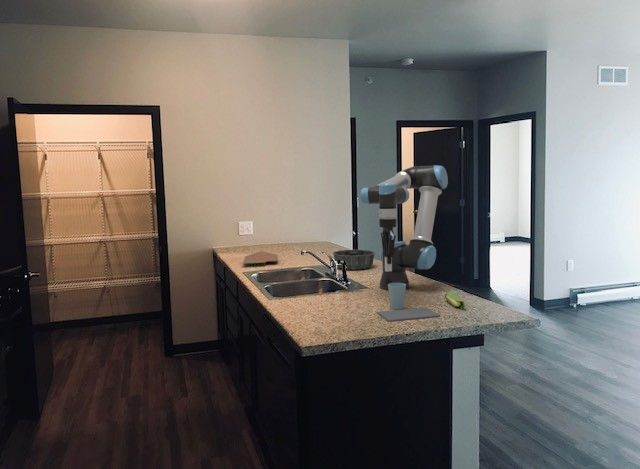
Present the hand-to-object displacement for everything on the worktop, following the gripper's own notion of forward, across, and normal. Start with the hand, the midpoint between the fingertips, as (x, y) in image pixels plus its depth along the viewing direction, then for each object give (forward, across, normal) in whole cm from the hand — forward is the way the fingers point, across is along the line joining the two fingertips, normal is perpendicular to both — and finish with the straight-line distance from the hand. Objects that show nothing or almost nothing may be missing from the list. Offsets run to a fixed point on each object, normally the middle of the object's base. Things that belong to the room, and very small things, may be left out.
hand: (388, 271), depth 239 cm
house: (+15, -138, -42) cm, 145 cm away
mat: (+15, +22, 0) cm, 26 cm away
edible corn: (+15, +13, +26) cm, 32 cm away
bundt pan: (+14, -94, +11) cm, 96 cm away
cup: (+15, +10, 0) cm, 18 cm away
